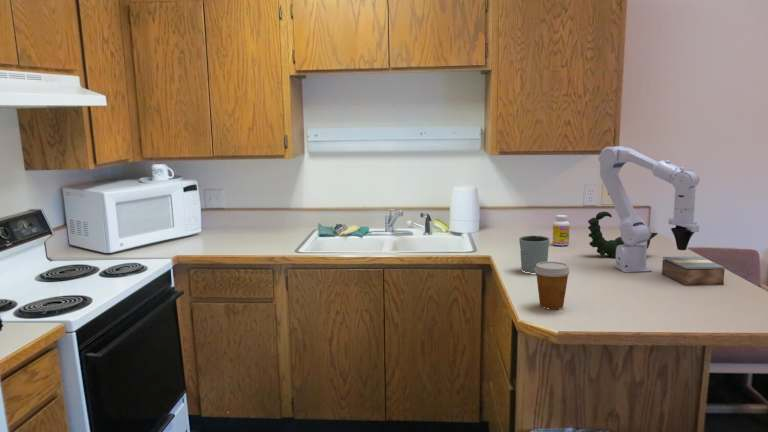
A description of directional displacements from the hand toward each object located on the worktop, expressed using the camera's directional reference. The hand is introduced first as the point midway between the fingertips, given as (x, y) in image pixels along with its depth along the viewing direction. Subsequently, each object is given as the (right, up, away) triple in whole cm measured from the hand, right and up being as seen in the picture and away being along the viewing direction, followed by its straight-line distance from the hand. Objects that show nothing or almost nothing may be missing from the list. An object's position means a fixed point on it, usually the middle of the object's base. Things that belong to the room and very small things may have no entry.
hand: (681, 249), depth 174 cm
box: (+3, -9, 0) cm, 10 cm away
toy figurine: (-5, -5, +32) cm, 33 cm away
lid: (+3, -4, -1) cm, 5 cm away
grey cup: (-44, -9, +14) cm, 47 cm away
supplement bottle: (-21, -2, +55) cm, 59 cm away
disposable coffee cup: (-50, -15, -23) cm, 56 cm away
